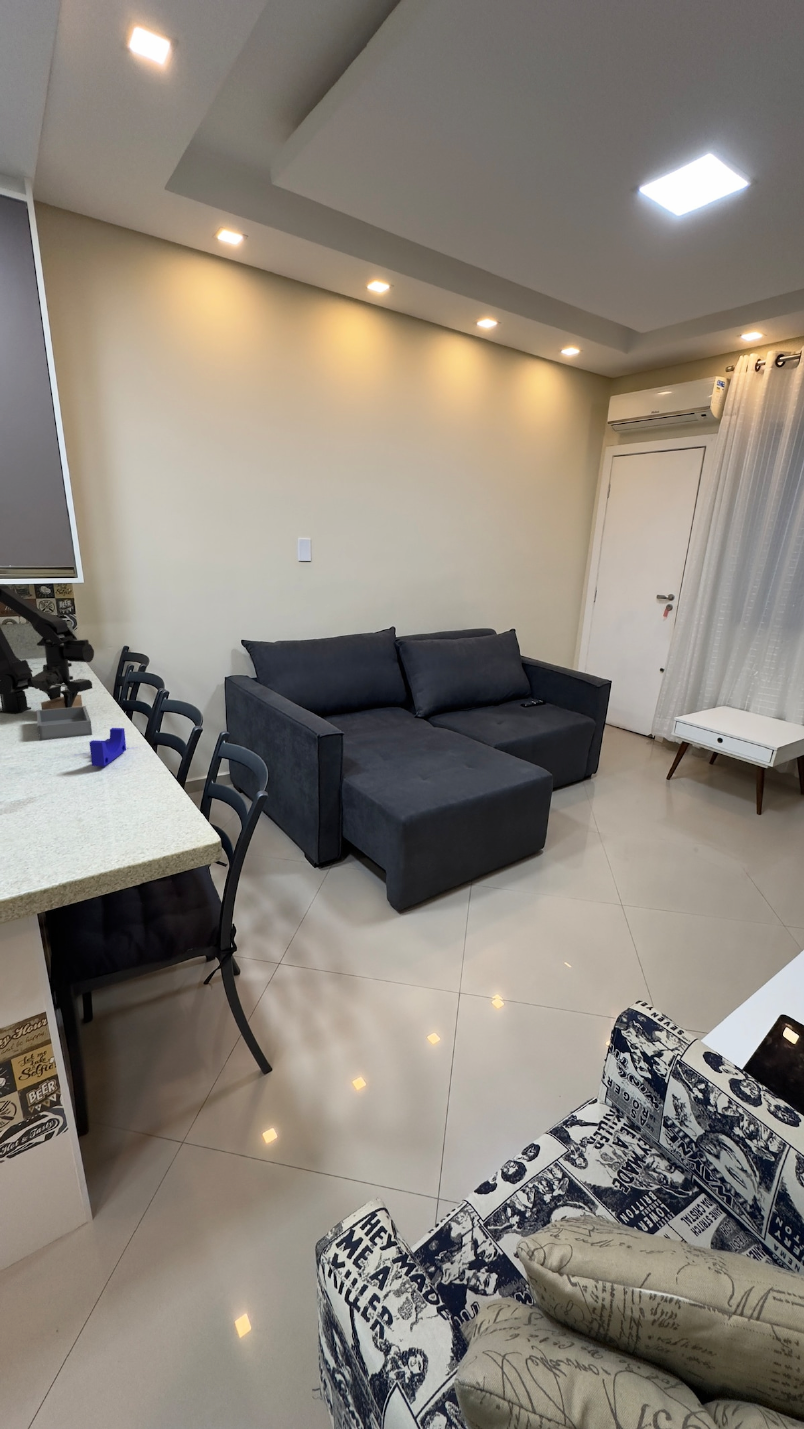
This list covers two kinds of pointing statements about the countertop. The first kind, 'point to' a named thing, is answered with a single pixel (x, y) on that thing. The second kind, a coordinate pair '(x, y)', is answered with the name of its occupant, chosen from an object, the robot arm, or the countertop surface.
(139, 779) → the countertop surface
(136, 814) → the countertop surface
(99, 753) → the cable clip
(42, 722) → the bin
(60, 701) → the strut
